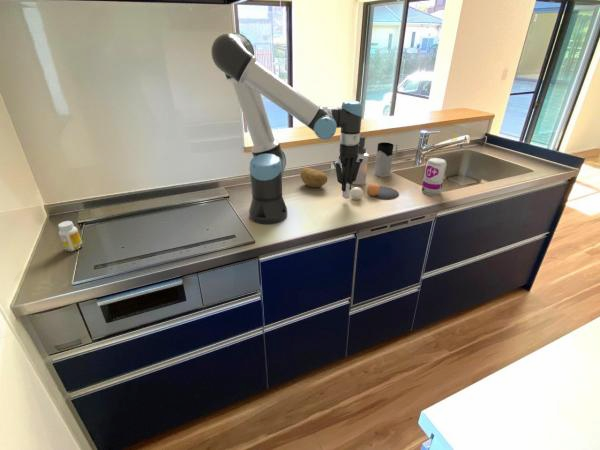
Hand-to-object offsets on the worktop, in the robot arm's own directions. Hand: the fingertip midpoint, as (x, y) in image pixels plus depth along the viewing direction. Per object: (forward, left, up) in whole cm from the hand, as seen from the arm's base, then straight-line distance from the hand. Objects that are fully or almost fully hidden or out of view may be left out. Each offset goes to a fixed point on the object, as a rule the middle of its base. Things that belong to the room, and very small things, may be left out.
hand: (345, 197), depth 146 cm
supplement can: (+40, -9, -2) cm, 41 cm away
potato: (-4, +21, -2) cm, 21 cm away
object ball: (+15, 0, +1) cm, 15 cm away
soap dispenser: (+18, +17, -2) cm, 25 cm away
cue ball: (+6, 0, +1) cm, 6 cm away
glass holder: (+38, +20, -2) cm, 43 cm away
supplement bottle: (-102, +12, -2) cm, 103 cm away
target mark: (+20, 0, -2) cm, 20 cm away
